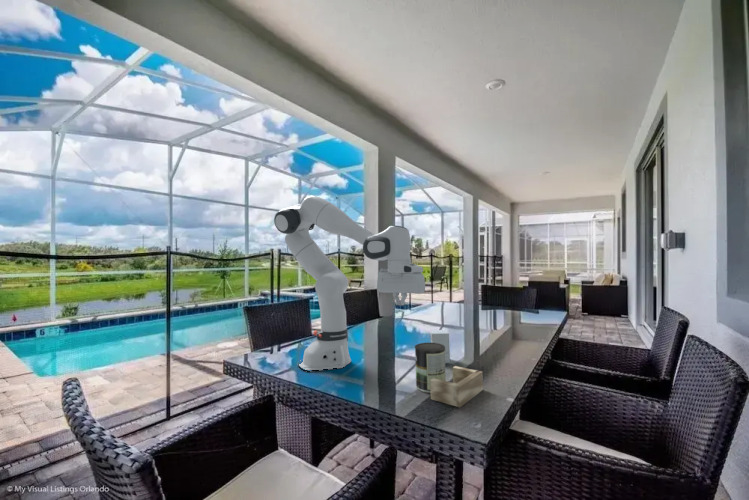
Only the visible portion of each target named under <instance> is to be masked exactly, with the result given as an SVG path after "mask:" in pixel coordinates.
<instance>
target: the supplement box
mask: <svg viewBox="0 0 749 500" xmlns="http://www.w3.org/2000/svg"><path fill="white" fill-rule="evenodd" d="M430 343H439V344H442V345H444V346H445V364H451V352H450V351H451V349H450V333H449V331H448V330H447V329H431V330H430Z"/></svg>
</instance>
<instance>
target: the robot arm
mask: <svg viewBox="0 0 749 500" xmlns="http://www.w3.org/2000/svg"><path fill="white" fill-rule="evenodd" d="M273 221H274V226H275V228H276V229H277V231H278V232H280V233H281V234H283V235H284V234H285V237H284V242H285V244H286V246H287V248H288V250H289V251H290V253H291V254H292V256H293V257H294V258H295V259H296V261H297V262H298V263H299V264H300V266H301V268H302V269H303V270H304V271H305V272H306V273H307V274H309V276H311V277H312V278H313V279H314V280H315V283H314V285H315V286H314V289H315V292H316V295H317V300H318V305H319V312H320V313H319V314H320V329H319V330H313V332H312V334H313V336H316V339H315V340H314V341H312V343H311V344H310V345H309V346H307V347H306V348H305V349H304V352H303V359H302V360H303V362H302V363H301V364H299V366H300V367H301V368H303V369H305V370H319V371H324V370H323V369H328V370H334V369H333V368H337V369H344V368H345V367H346V366H347V365H349V364H351V362H352V359H351V357H350V353H349V347H348V345H349V344H348V339H349V331H348V328H347V310H346V305H345V301H344V294H345V292H346V291H347V289H348V287H349V279H348V277H347V276H346V275H345V274H344V273H343V272H342V271H341V270H340V268H339V267H338V266H337V265H335V263H334V262H332V261H331V259H330V258H329V257H328V256H327V255H326V254H325V252H324V251H323V250H322V249H321V248H320V247H319V245H318V244H317V243H316V242H315V240H314V239H313V238H312V236H311V235H310V232H309V231H313V230H314V227H315V226H316V227H318V228H319V229H321V230H323V231H325V232H328V233H330V234H333V235H337V236H342V237H347V238H349V239H352V240H354V241H355V242H356V243H359V244H360V245H362V252H363V254H364V255H365V257H366V258H368V259H370V260H373V261H380V262H383V263H384V262H385V263H387V268H381V269H380V270H378V272H377V281H376V291H377V292H378V293H387V294H388V293H390V294H392V296H393V298H394V301H395V305H396V306H405V304H406V302H405V301H406V299H407V298H408V294H415V295H416V294H417V295H419V294H420V295H421V294H423V293H425V291H426V279H425V276H424V274H423V272H424V267H422V266H421V265H417V264H414V263H412V259H411V258H412V257H411V250H412V247H411V246H412V243H411V234H410V231H409V229H408V228H406V227H404V226H401V225H389V226H388V227H387V228H386V229H384V230H383V231H381V232H378V233H376V234H374V233H373V232H371V231H369V230H367V229H366V228H365V227H363V226H361V225H359V224H358V223H357V222H355V220H353V219H352V218H351V217H350V216H348V215H347V214H346V213H345V212H344V211H343V210H342V209H340V208H339V206H336V205H335V204H334V203H332V202H330V201H328V200H327V199H324V198H322V197H320V196H316V195H309V196H307V197H305V198H304V200H303V201H302V202H301V203H296V204H292V205H291V206H288V207H284V208H282V209H280V210H278V211H277V212H276V213H275V215H274V219H273ZM399 296H401V298H400V297H399ZM343 367H344V368H343Z"/></svg>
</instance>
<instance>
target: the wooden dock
mask: <svg viewBox="0 0 749 500" xmlns="http://www.w3.org/2000/svg"><path fill="white" fill-rule="evenodd" d="M483 378H484V376H483V371H482V370H477V369H471V368H467V367H461V366H457V365H454V366H453V367H452V382H451V381H446V380H445V381H443V380H439V379H435V378H433V379H431V380H430V391H431V393H430V400H433V401H436V402H440V403H442V404H443V403H444V404H446V405H450V406H454V407H456V408H461V407H463V406H464V405H465V404H467V403H468V402H469V401H470V400H471V399H473V398H474V397H475V396H477V395H479V393H481V392H482V391H483V390H484V381H483V380H484V379H483Z"/></svg>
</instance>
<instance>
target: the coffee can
mask: <svg viewBox="0 0 749 500" xmlns="http://www.w3.org/2000/svg"><path fill="white" fill-rule="evenodd" d="M414 351H415V352H414V353H415V355H414V356H415V358H414V359H415V388H416V389H417V390H418V391H419V392H422V393H427V394H428V393H429V394H431V391H430V380H431V379H433V378H435V379H439V380H443V381H446V363H445V346H444V345H442V344H439V343H431V342H420V343H417V344H415V345H414Z"/></svg>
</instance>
